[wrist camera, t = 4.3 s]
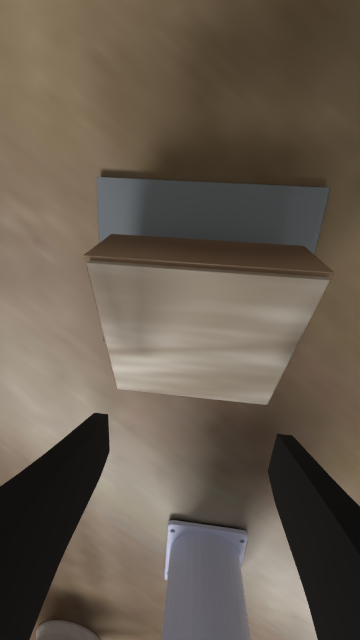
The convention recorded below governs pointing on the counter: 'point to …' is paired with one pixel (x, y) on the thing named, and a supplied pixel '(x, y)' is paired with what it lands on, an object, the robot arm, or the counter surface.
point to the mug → (63, 631)
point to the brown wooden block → (203, 312)
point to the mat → (211, 211)
